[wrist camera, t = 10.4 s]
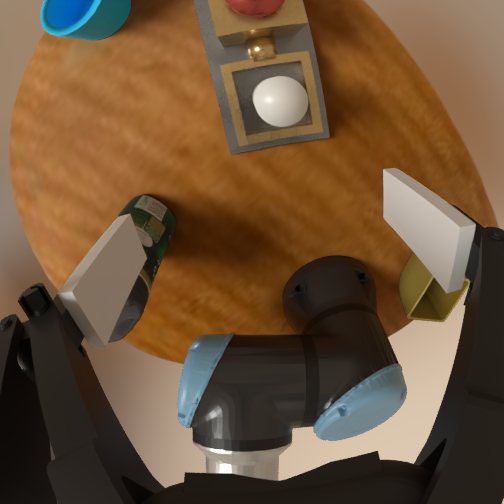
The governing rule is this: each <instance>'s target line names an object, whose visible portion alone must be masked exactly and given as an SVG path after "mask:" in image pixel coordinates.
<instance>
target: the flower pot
mask: <svg viewBox="0 0 504 504" xmlns="http://www.w3.org/2000/svg"><path fill="white" fill-rule="evenodd" d="M469 284H470V281H469V279H468V278H467V277H466V276H465V278H464V282H463V286H462V289H460V290H457V291H454V292H450V293H446V292H445V291H444V289H443V288H442V287H441V285H440V284H439V283H438V281H437V280H436V279H435V278H434V276H433V275H432V274H431V273H430V271H429V270H428V269H427V268H426V266H425V265H424V264H423V263H422V262H421V260H420V259H419V258H418V257H417V256H416V254H415V253H414V252H413V253H412V255H411V257H410V258H409V260H408V262H407V264H406V266H405V268H404V270H403V271H402V273H401V276H400V281H399V294H400V298H401V302H402V305H403V308H404V310H405V313H406V316H407V318H408V319H414V320H424V321H435V322H444V321H445V320H446V318H447V317H448V316H449V314H450V313H451V311H452V310H453V308H454V307H455V305H456V304H457V302H458V301H459V299H460V298H461V296H462V295H463V294H464V292H465V290H466V289H467V287H468V286H469Z"/></svg>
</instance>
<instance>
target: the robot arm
mask: <svg viewBox="0 0 504 504" xmlns="http://www.w3.org/2000/svg"><path fill="white" fill-rule="evenodd" d="M383 186H384V214H383V218H384V219H385V220H386V221H387V223H388V224H389V225H390V226H391V227H392V228H393V229H394V230H395V231H396V232H397V234H398V235H399V236H400V237H401V238H402V239H403V240H404V242H405V243H406V244H407V245H408V246H409V247H410V248H411V250H412V251H413V252H414V253H415V254H416V256H417V257H418V258H419V259H420V260H421V262H422V263H423V264H424V265H425V266H426V268H427V269H428V270H429V271H430V273H431V274H432V275H433V276H434V278H435V279H436V280H437V281H438V283H439V284H440V285H441V287H442V288H443V289H444V291H445V292H446V293H450V292H454V291H457V290H460V289H462V286H463V282H464V278H465V276H466V277H467V278H468V279H469V281H470V285H469V289H468V292H467V295H466V299H465V302H464V305H465V306H466V307H465V314H464V319H463V324H462V329H461V334H460V339H459V343H458V348H457V352H456V356H455V360H454V364H453V368H452V371H451V374H450V378H449V381H448V385H447V388H446V391H445V394H444V397H443V400H442V403H441V406H440V409H439V412H438V414H437V417H436V420H435V423H434V425H433V428H432V430H431V433H430V435H429V437H428V440H427V442H426V444H425V446H424V447H423V449H422V451H421V452H420V454H419V456H418V457H417V459H416V461H415V463H414V464H412V463H408V462H403V461H397V460H380V459H379V454H378V451H375V452H372V453H368V454H364V455H360V456H356V457H351V458H348V459H343V460H338V461H333V462H330V463H327V464H325V465H322V466H320V467H318V468H315V469H313V470H311V471H308V472H305V473H302V474H300V475H297V476H294V477H291V478H289V479H286V480H281V481H278V463H279V455H280V454H281V453H282V452H284V450H286V449H287V448H288V447H289V446H290V445H291V444H292V429H293V428H299V427H314V428H313V429H314V432H315V433H316V435H317V437H318V438H320V439H322V440H329V441H336V440H342V439H346V438H350V437H353V436H356V435H359V434H362V433H364V432H366V431H369V430H370V429H373V428H374V427H376V426H378V425H380V424H381V423H383V422H385V421H386V420H387V419H389V418H390V417H391V416H392V415H394V414H395V413H396V412H397V411H398V409H399V408H400V407H401V406H402V404H403V403H404V401H405V398H406V394H407V388H406V384H405V381H404V377H403V374H402V367H401V366H400V364H399V363H398V361H397V358H396V356H395V354H394V351H393V349H392V347H391V344H390V342H389V340H388V337H387V335H386V333H385V331H384V328H383V326H382V324H381V322H380V320H379V317H378V315H377V301H376V287H375V283H374V280H373V278H372V277H371V275H370V273H369V271H368V269H367V268H366V267H365V266H364V265H363V264H362V263H360V262H359V261H357V260H355V259H353V258H349V257H345V256H329V257H323V258H320V259H317V260H314V261H312V262H310V263H308V264H306V265H304V266H303V267H301V268H300V269H299V270H298V271H296V272H295V273H294V274H293V275H292V277H291V278H290V279H289V281H288V282H287V284H286V286H285V288H284V292H283V307H284V313H285V316H286V319H287V320H288V322H289V324H290V325H291V327H292V328H293V330H294V331H295V333H296V334H297V335H236V334H235V333H230V334H216V335H203V336H200V337H199V338H197V339H196V340H195V341H194V342H193V344H192V345H191V347H190V349H189V351H188V354H187V356H186V359H185V363H184V366H183V370H182V375H181V380H180V387H179V393H178V404H177V406H178V407H177V408H178V420H179V423H180V424H181V425H183V426H185V427H186V428H191V427H192V429H193V443H194V444H195V445H196V446H197V447H198V448H199V449H200V450H201V451H202V452H203V453H204V454H205V455H206V473H185V477H184V482H183V483H179V484H176V485H172V486H169V487H167V488H164V487H163V486H162V485H161V484H160V483H159V482H158V481H157V480H156V479H155V478H154V477H153V476H152V474H151V473H150V472H149V470H148V469H147V467H146V466H145V464H144V463H143V461H142V460H141V458H140V456H139V455H138V453H137V452H136V450H135V448H134V447H133V445H132V443H131V442H130V440H129V438H128V437H127V435H126V433H125V431H124V430H123V428H122V426H121V424H120V422H119V421H118V419H117V417H116V415H115V413H114V411H113V409H112V407H111V405H110V403H109V401H108V399H107V397H106V395H105V393H104V391H103V389H102V387H101V385H100V383H99V381H98V378H97V376H96V374H95V372H94V369H93V367H92V365H91V362H90V360H89V358H88V355H87V353H86V351H85V349H84V348H83V346H82V345H81V342H82V340H83V338H84V337H85V339H86V340H87V342H88V343H89V344H90V346H91V347H106V346H107V343H108V341H109V338H110V336H111V334H112V331H113V329H114V327H115V325H116V322H117V320H118V318H119V316H120V313H121V311H122V309H123V307H124V305H125V302H126V300H127V298H128V296H129V294H130V292H131V290H132V288H133V285H134V283H135V281H136V279H137V277H138V275H139V273H140V271H141V269H142V267H143V265H144V263H145V261H146V259H147V257H146V254H145V252H144V249H143V247H142V244H141V241H140V239H139V236H138V233H137V231H136V228H135V225H134V223H133V220H132V217H131V214H126V215H123V216H119V217H117V218H116V220H115V221H114V222H113V223H112V224H111V225H110V227H109V228H108V229H107V230H106V231H105V233H104V234H103V235H102V236H101V237H100V239H99V240H98V241H97V242H96V243H95V245H94V246H93V247H92V248H91V250H90V251H89V252H88V253H87V255H86V256H85V257H84V258H83V260H82V261H81V262H80V264H79V265H78V266H77V268H76V269H75V270H74V272H73V273H72V274H71V276H70V277H69V278H68V280H67V281H66V282H65V284H64V285H63V287H62V288H61V289H60V291H59V292H58V294H57V295H56V297H55V298H54V299H53V300H52V298H51V297H50V295H49V294H48V292H47V290H46V288H45V286H44V285H43V283H38V284H35V285H33V286H31V287H29V288H28V289H27V290H25V292H23V293H22V294H21V296H20V297H19V300H18V302H19V304H20V305H21V307H22V309H23V310H24V312H25V313H26V315H27V316H28V318H29V320H28V321H26V322H23V323H21V321H20V320H19V318H18V317H17V316H16V314H12V315H9V316H8V317H5V318H4V319H2V320H1V322H0V504H57V501H58V504H502V501H503V498H504V230H502V229H499V228H496V227H486V228H484V227H482V226H481V225H480V224H479V223H477V222H476V221H475V220H474V219H472V218H471V217H469V216H468V215H467V214H466V213H464V212H463V211H462V210H461V209H459V208H458V207H456V206H454V205H452V204H449V203H447V202H446V201H445V200H443V199H442V198H440V197H439V196H438V195H436V194H435V193H433V192H432V191H431V190H429V189H428V188H426V187H425V186H423V185H422V184H420V183H419V182H417V181H416V180H414V179H413V178H411V177H410V176H408V175H406V174H405V173H403V172H402V171H400V170H399V169H397V168H390V169H383ZM18 362H19V364H20V365H21V366H22V367H23V370H22V369H21V367H20V366H19V364H18ZM49 439H50V440H49ZM50 442H51V446H52V449H53V452H54V455H55V460H53V461H51V454H50Z"/></svg>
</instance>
